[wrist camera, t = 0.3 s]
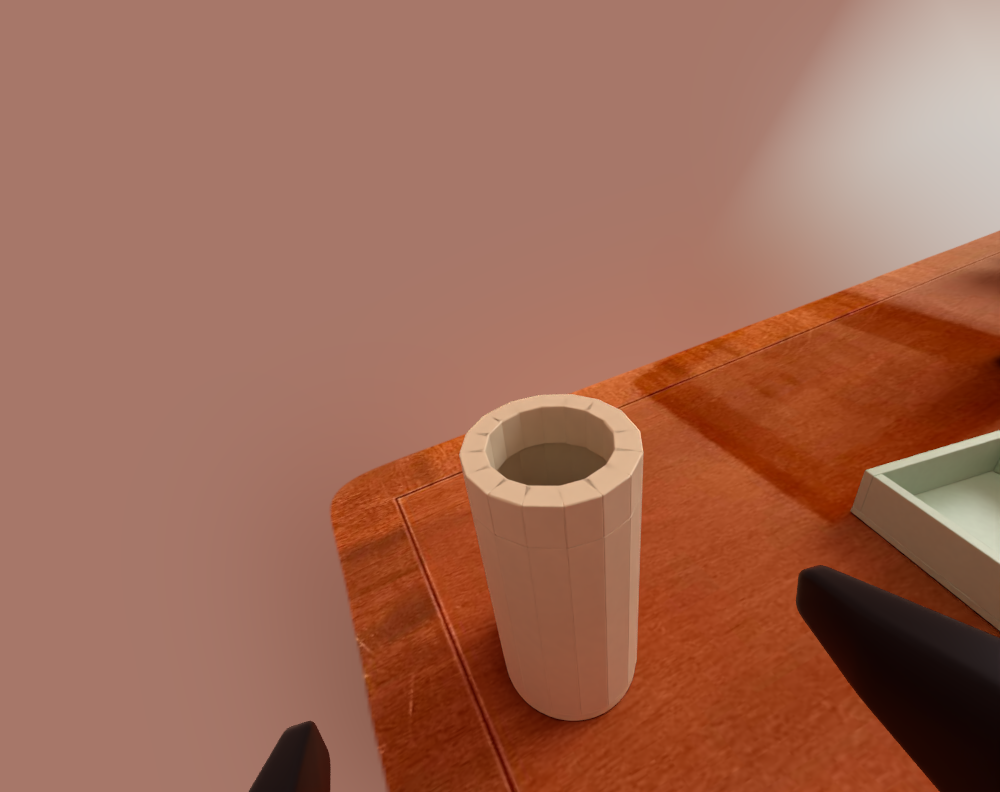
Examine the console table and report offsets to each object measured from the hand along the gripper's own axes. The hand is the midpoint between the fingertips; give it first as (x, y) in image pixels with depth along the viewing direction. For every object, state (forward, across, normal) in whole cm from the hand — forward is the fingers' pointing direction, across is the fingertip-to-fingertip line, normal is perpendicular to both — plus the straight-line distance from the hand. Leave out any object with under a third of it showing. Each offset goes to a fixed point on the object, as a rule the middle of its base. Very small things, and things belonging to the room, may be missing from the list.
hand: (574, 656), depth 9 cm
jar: (+12, -2, +15) cm, 19 cm away
